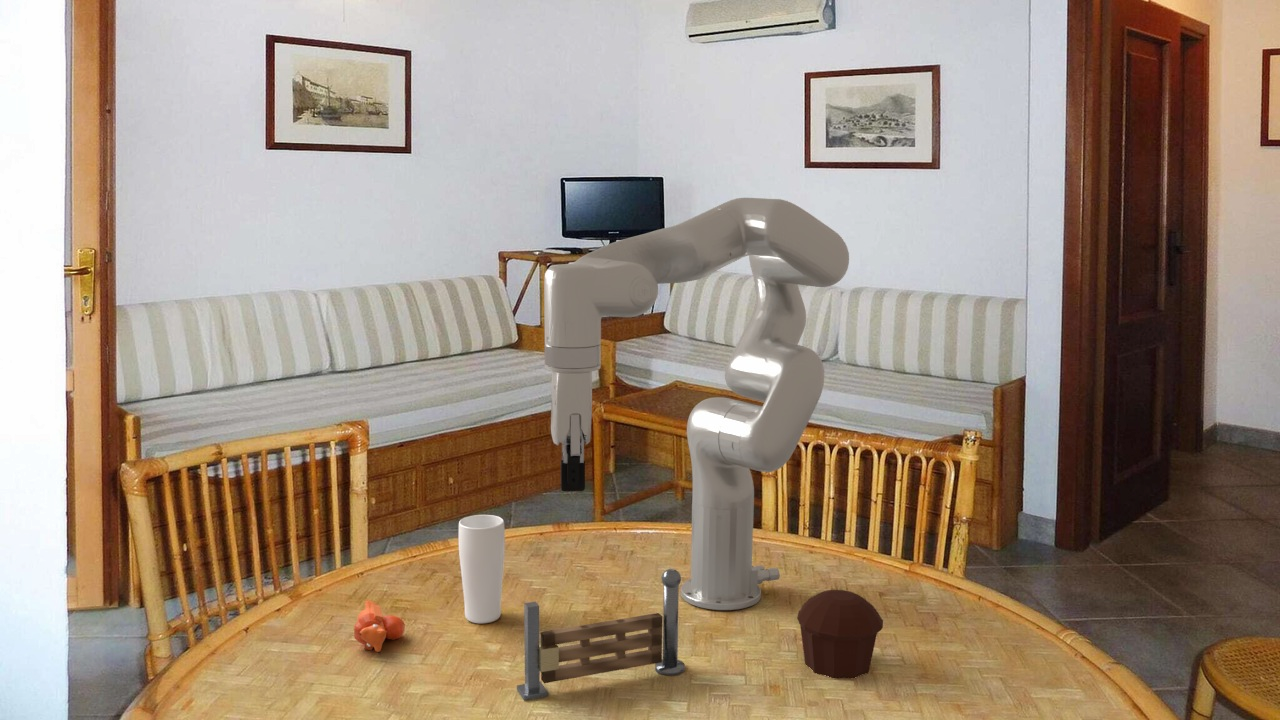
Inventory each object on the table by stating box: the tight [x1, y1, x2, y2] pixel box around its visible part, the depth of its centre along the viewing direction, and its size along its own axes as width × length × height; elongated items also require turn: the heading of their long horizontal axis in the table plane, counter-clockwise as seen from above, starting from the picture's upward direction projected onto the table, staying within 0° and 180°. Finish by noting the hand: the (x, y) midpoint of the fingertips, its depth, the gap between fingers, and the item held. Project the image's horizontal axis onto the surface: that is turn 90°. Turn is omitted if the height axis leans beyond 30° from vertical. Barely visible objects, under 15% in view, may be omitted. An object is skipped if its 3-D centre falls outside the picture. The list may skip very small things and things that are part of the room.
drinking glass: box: [457, 514, 506, 624], centre depth 170 cm, size 7×7×15 cm
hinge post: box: [654, 568, 686, 677], centre depth 153 cm, size 4×4×14 cm
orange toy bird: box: [353, 599, 406, 653], centre depth 162 cm, size 5×8×12 cm
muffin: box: [796, 589, 884, 679], centre depth 156 cm, size 12×11×10 cm
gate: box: [540, 612, 663, 684], centre depth 150 cm, size 16×1×6 cm, turn 113°
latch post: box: [516, 601, 560, 701], centre depth 146 cm, size 5×3×12 cm
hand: (572, 489), depth 157 cm, fingers closed
